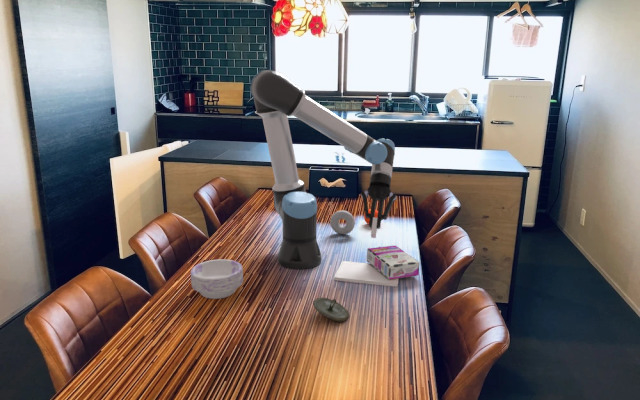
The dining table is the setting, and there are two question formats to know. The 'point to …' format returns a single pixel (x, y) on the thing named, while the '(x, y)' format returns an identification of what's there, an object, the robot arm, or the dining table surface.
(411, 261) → the candy bar box
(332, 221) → the donut
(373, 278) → the cutting board
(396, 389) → the dining table surface
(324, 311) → the lid
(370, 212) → the clementine
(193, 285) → the paper bowls
